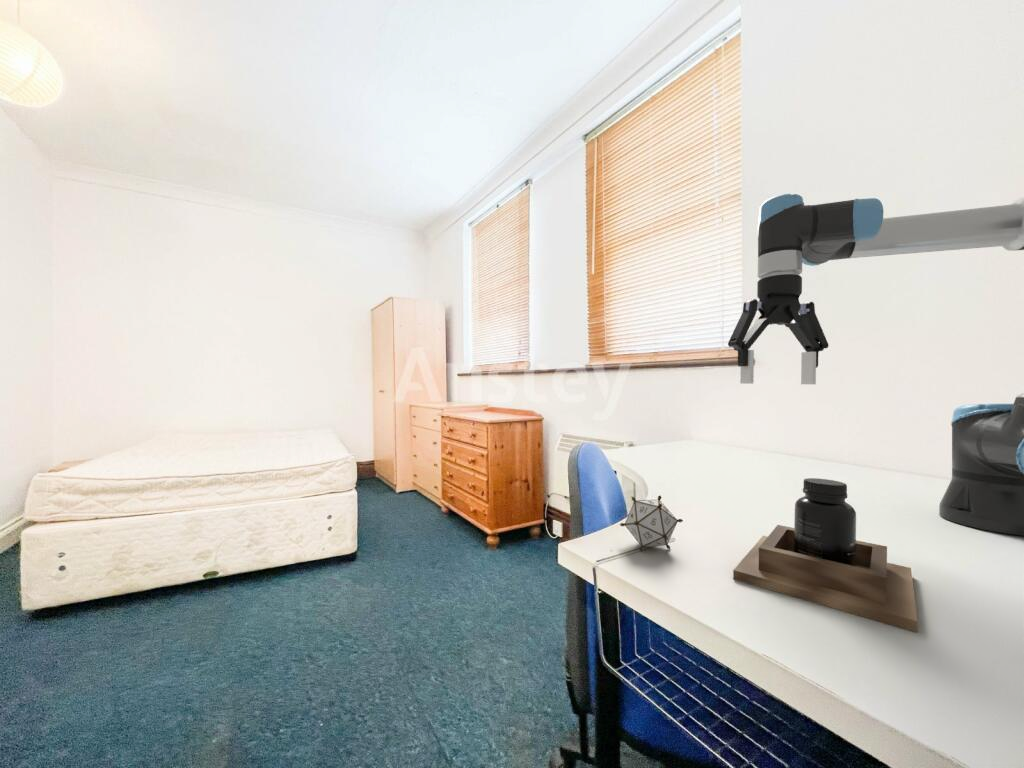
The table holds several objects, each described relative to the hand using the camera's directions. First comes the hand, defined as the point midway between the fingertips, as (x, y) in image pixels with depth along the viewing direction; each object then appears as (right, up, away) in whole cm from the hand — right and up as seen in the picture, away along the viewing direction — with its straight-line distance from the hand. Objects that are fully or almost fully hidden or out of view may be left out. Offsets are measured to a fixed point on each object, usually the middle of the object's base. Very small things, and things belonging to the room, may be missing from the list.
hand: (777, 384), depth 84 cm
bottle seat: (-10, -27, -26) cm, 39 cm away
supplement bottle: (-10, -26, -26) cm, 38 cm away
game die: (-31, -27, -16) cm, 43 cm away
